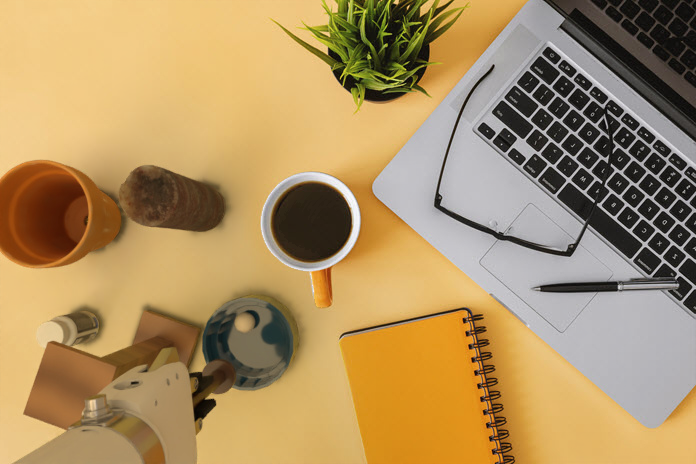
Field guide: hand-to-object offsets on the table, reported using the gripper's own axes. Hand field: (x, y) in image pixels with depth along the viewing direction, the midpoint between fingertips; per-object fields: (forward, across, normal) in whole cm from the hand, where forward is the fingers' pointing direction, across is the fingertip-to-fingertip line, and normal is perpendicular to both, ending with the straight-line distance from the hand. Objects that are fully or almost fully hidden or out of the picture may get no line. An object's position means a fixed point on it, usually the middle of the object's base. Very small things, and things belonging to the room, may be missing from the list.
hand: (200, 391), depth 51 cm
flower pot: (+23, -22, -22) cm, 39 cm away
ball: (+20, -4, 0) cm, 20 cm away
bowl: (+22, -2, +1) cm, 22 cm away
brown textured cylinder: (+23, -22, -5) cm, 32 cm away
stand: (+22, -2, -13) cm, 26 cm away
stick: (+7, 0, 0) cm, 7 cm away
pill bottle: (+22, -6, -26) cm, 35 cm away
